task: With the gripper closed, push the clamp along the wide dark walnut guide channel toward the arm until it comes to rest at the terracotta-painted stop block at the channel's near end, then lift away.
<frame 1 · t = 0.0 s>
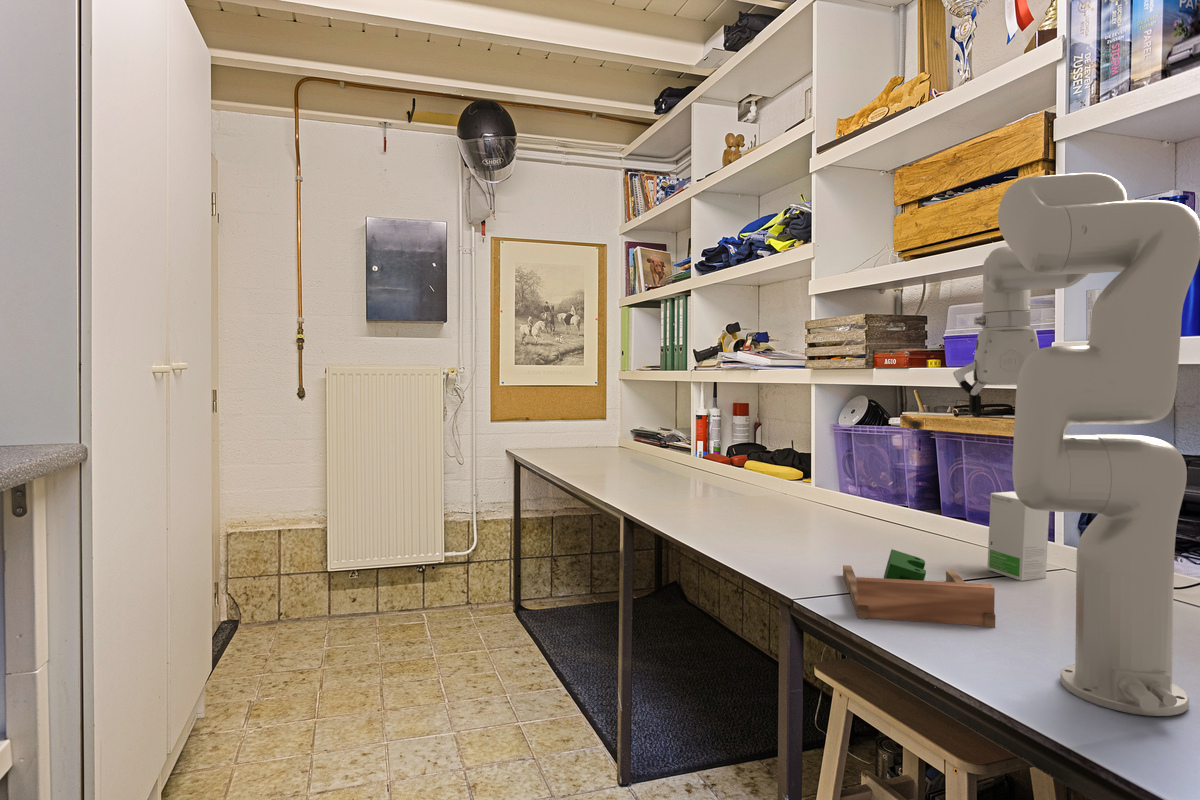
hand: (1005, 416, 129), 31 cm above the table, tool pointing down, fingers open, 9 cm apart
guide channel: (910, 598, 124), on the table
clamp: (903, 590, 130), on the table
skincare box: (1017, 575, 138), on the table
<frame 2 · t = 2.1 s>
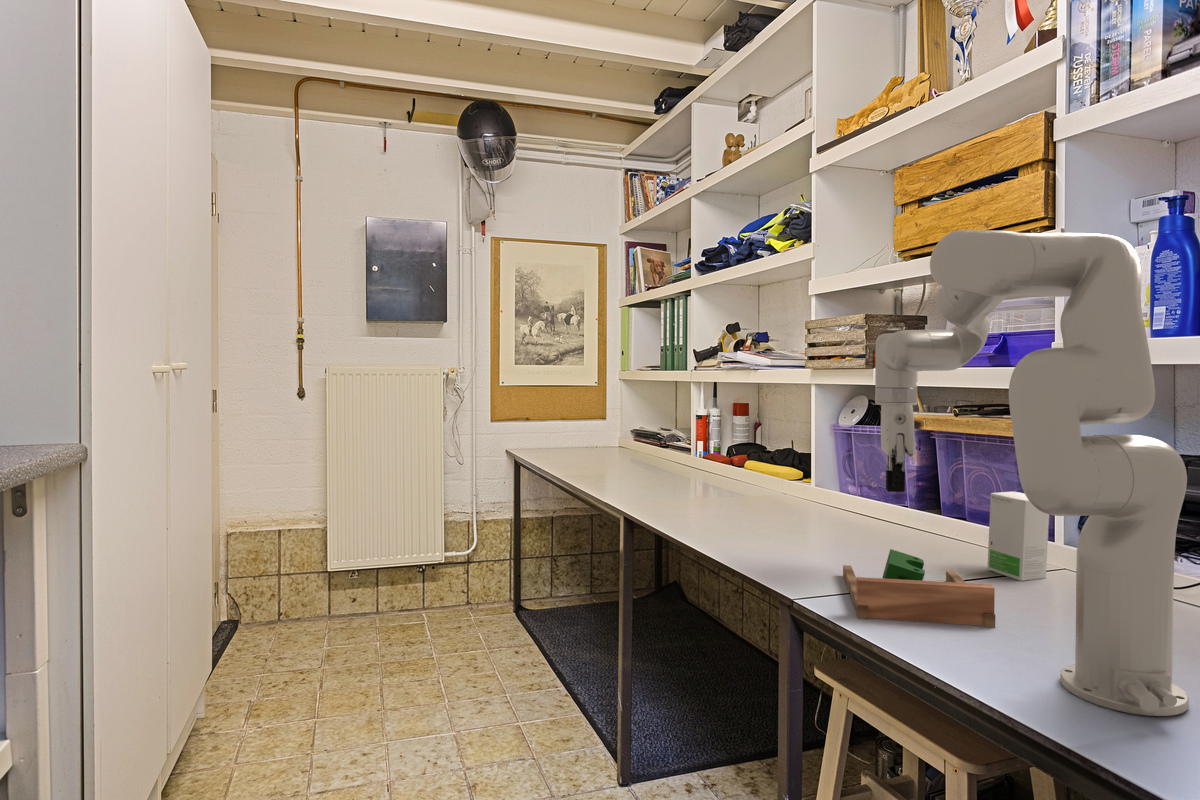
hand: (895, 490, 138), 16 cm above the table, tool pointing down, fingers closed
nothing on the table moved.
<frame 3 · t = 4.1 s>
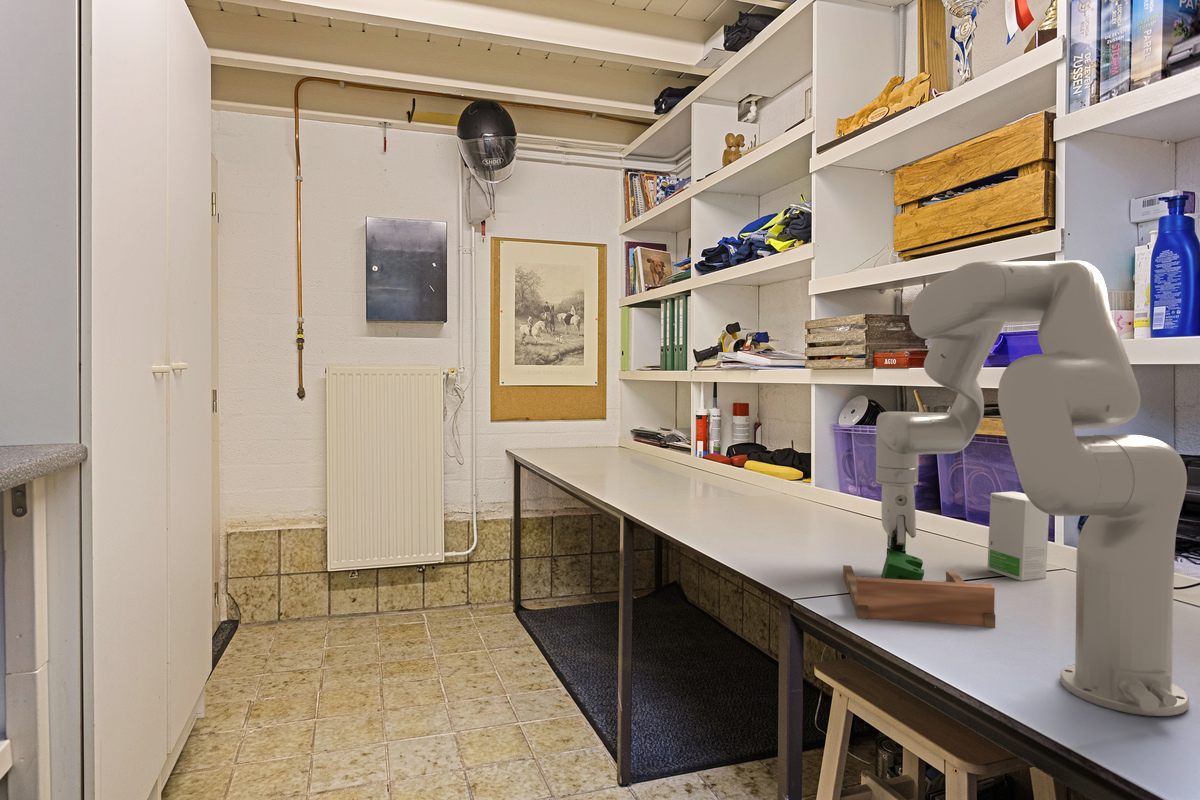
hand: (896, 569, 137), 1 cm above the table, tool pointing down, fingers closed
nothing on the table moved.
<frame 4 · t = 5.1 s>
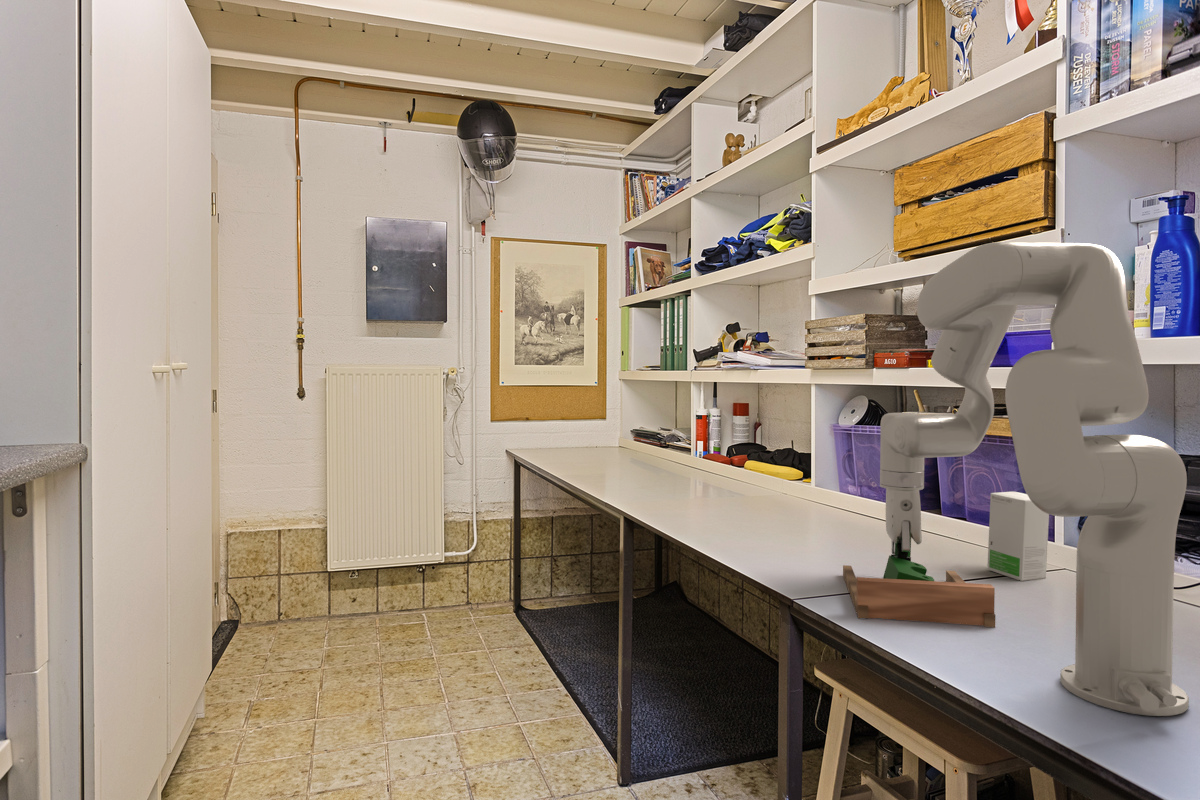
hand: (900, 576, 132), 1 cm above the table, tool pointing down, fingers closed
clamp: (907, 598, 124), on the table, touching gripper
everything else where it was.
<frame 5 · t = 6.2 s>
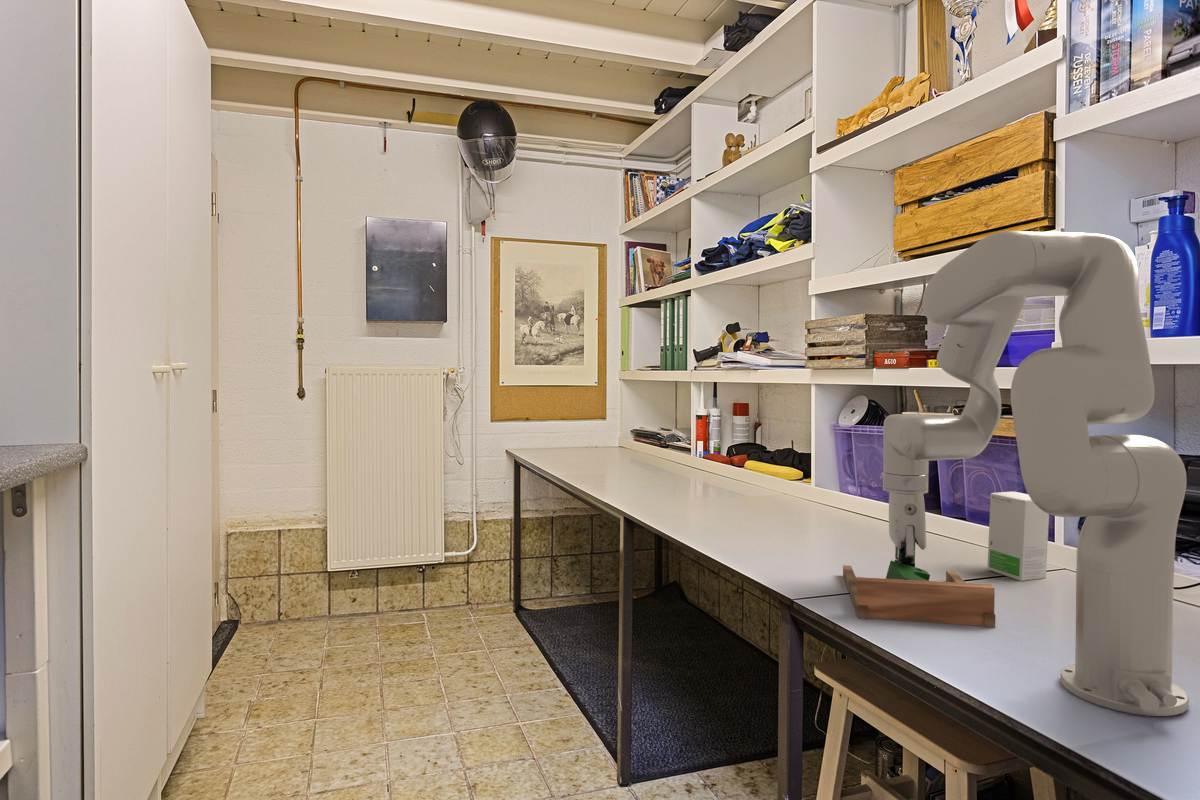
hand: (904, 583, 128), 1 cm above the table, tool pointing down, fingers closed
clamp: (910, 604, 121), on the table, touching gripper
everything else where it was.
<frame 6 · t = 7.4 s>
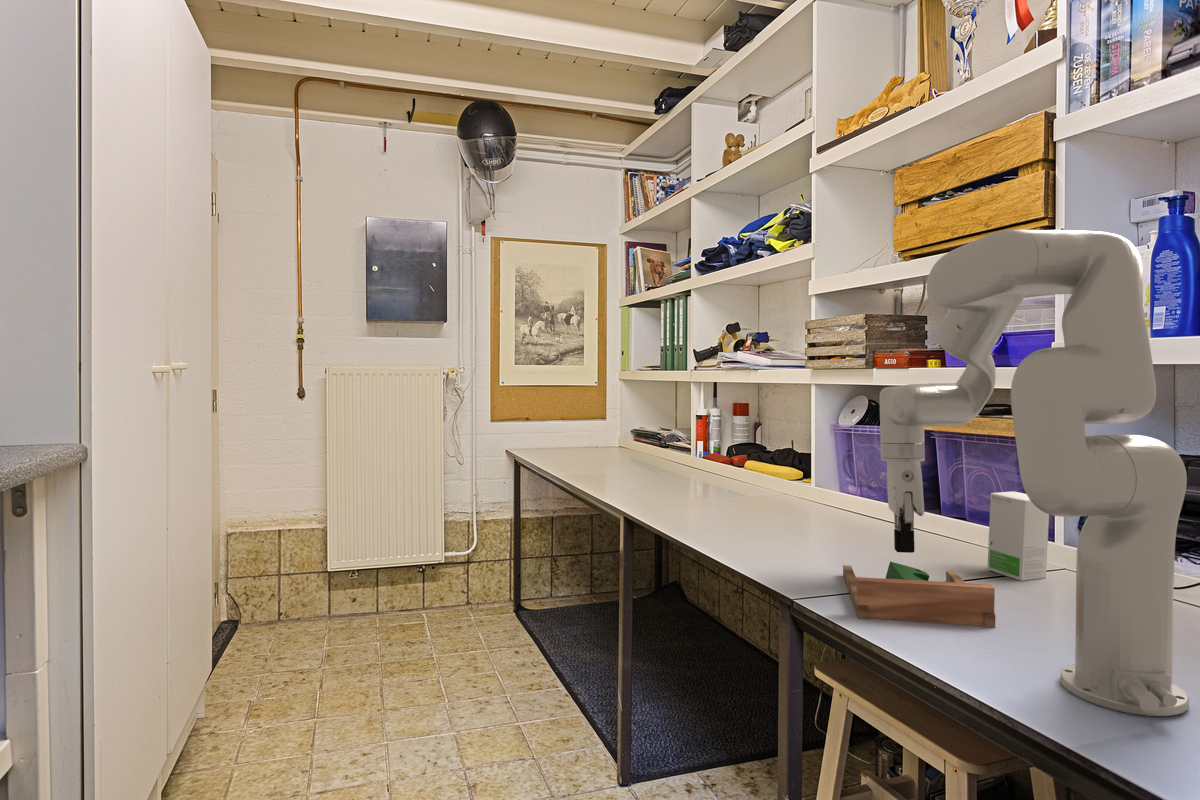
hand: (904, 551, 131), 6 cm above the table, tool pointing down, fingers closed
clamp: (910, 605, 121), on the table
everything else where it was.
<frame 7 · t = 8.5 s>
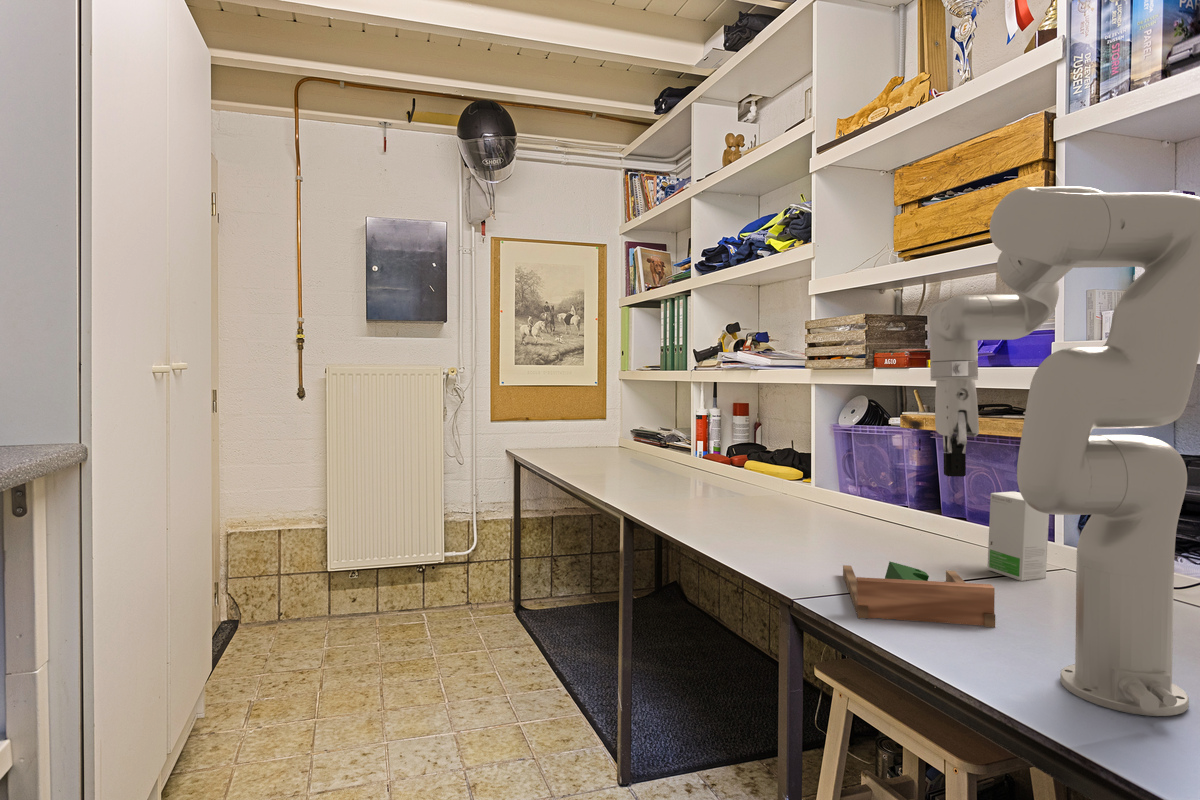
hand: (954, 475, 125), 21 cm above the table, tool pointing down, fingers closed
nothing on the table moved.
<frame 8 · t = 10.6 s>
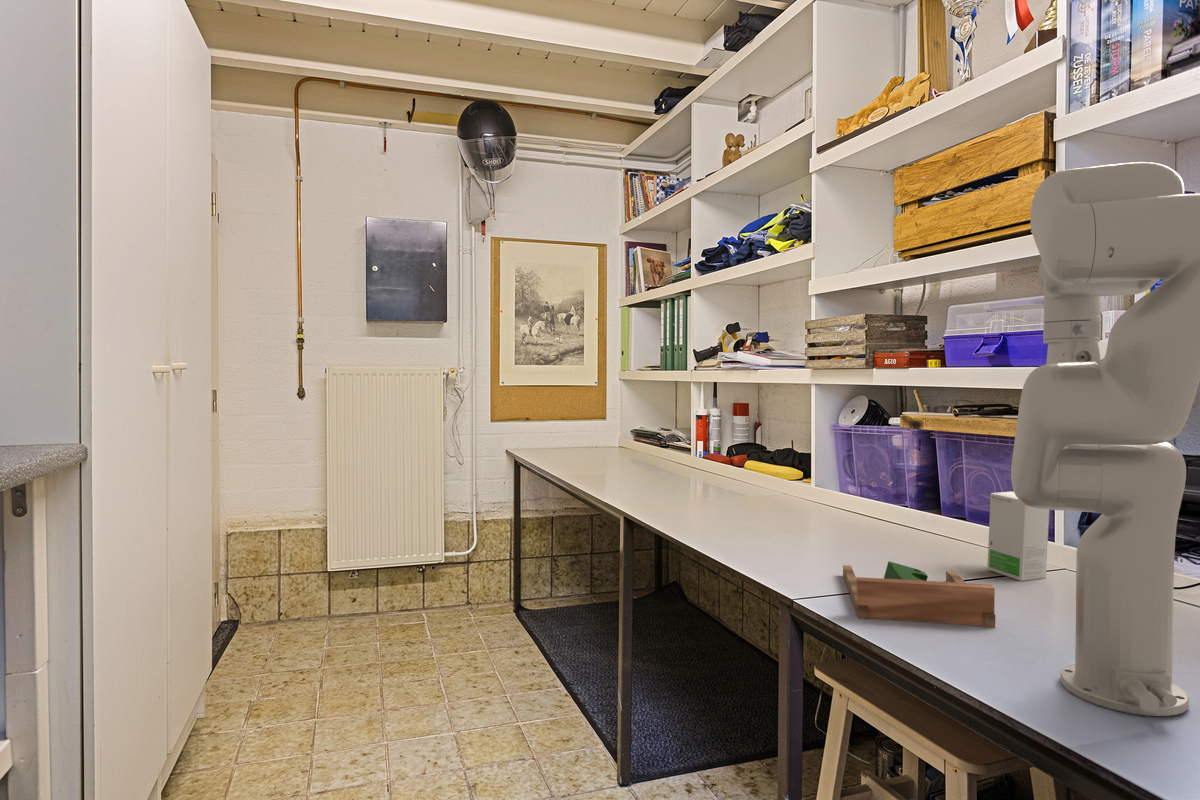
hand: (1069, 448, 113), 27 cm above the table, tool pointing down, fingers closed
nothing on the table moved.
at the end: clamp inside the target area (2.2 cm from its centre), on the table; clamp moved 9.1 cm from its start; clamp tilted 0° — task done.
